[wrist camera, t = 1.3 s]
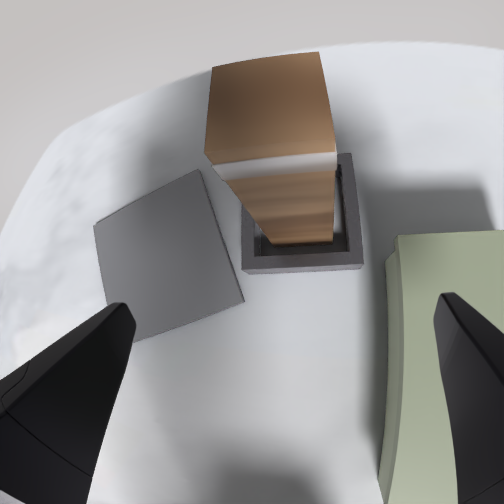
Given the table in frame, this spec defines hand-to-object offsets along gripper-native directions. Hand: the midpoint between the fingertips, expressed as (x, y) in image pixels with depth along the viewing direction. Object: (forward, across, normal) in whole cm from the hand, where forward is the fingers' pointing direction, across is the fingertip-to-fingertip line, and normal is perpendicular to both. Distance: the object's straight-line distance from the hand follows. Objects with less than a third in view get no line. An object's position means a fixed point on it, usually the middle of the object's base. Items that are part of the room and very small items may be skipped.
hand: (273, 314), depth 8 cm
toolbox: (+6, -10, +12) cm, 17 cm away
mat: (+12, +11, +6) cm, 17 cm away
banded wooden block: (+14, 0, +4) cm, 14 cm away
